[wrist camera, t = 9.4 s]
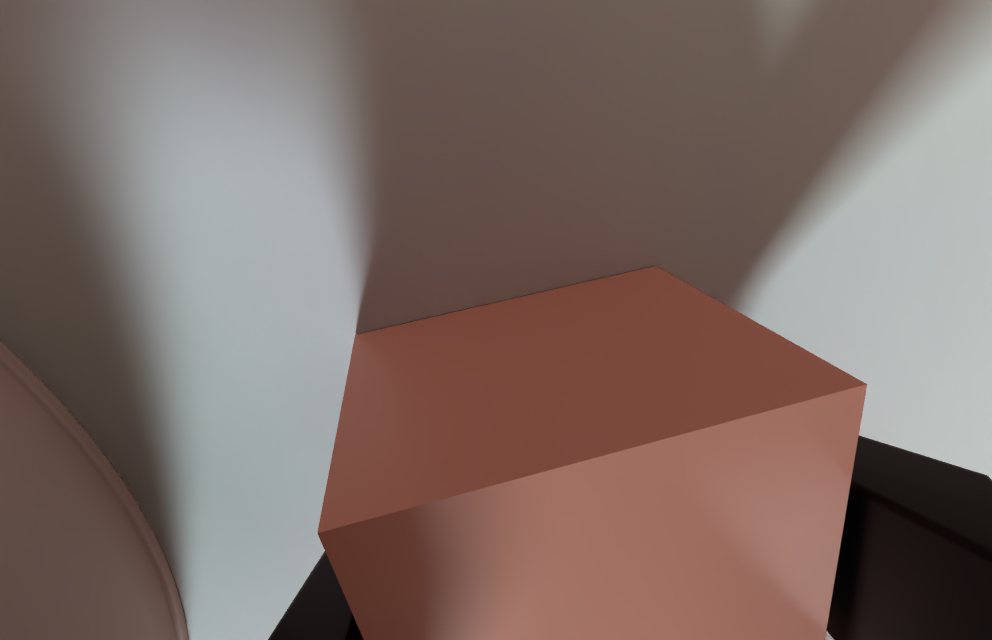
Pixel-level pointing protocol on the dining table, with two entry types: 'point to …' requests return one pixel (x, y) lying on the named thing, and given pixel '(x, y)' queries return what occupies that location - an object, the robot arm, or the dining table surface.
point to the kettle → (71, 530)
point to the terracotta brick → (590, 472)
